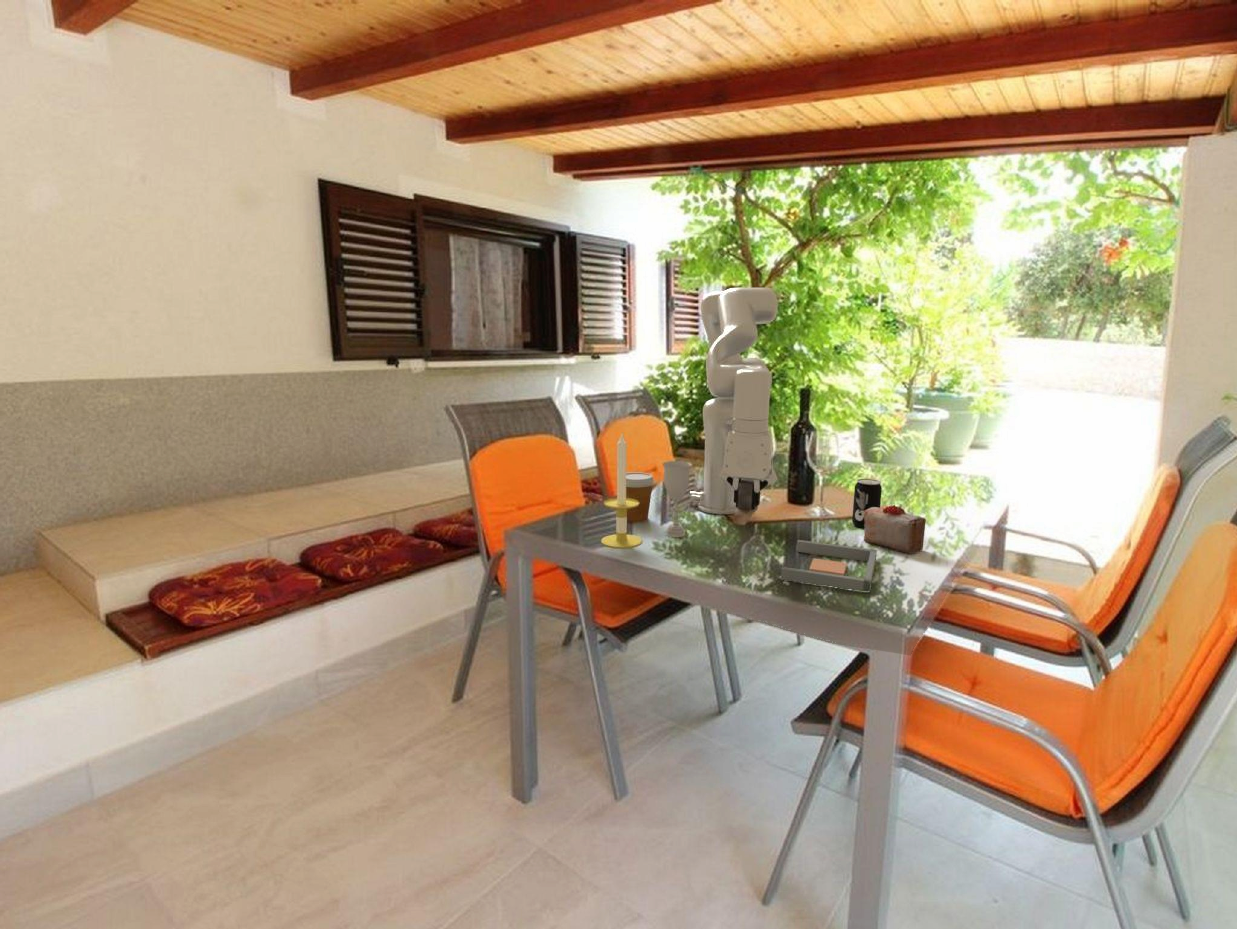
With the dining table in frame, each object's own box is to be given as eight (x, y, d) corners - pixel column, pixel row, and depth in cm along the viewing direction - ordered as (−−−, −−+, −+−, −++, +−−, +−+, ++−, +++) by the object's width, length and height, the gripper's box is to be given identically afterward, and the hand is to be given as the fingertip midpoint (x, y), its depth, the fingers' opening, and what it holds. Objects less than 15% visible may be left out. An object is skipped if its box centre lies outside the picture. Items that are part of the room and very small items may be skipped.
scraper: (732, 523, 145) (733, 487, 143) (746, 507, 157) (747, 474, 155) (745, 525, 144) (747, 489, 142) (758, 508, 156) (760, 475, 154)
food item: (856, 541, 164) (859, 502, 161) (875, 535, 168) (878, 497, 166) (909, 556, 153) (913, 515, 151) (927, 549, 158) (932, 509, 156)
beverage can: (880, 530, 172) (884, 484, 170) (853, 528, 173) (857, 483, 171) (876, 522, 178) (879, 478, 176) (850, 521, 180) (853, 477, 177)
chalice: (692, 531, 171) (694, 462, 167) (686, 539, 164) (688, 467, 161) (665, 528, 173) (666, 460, 169) (657, 536, 167) (658, 465, 163)
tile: (808, 575, 143) (809, 568, 143) (813, 564, 149) (813, 558, 149) (843, 580, 140) (843, 573, 140) (846, 569, 146) (846, 562, 146)
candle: (594, 538, 165) (594, 430, 160) (631, 533, 169) (632, 427, 164) (610, 550, 156) (610, 436, 151) (649, 545, 160) (650, 433, 155)
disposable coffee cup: (612, 516, 183) (612, 474, 181) (642, 512, 188) (643, 470, 185) (628, 526, 175) (629, 481, 173) (660, 521, 179) (661, 477, 177)
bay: (780, 580, 139) (781, 568, 138) (797, 550, 157) (798, 539, 157) (869, 593, 132) (870, 581, 131) (875, 560, 150) (876, 549, 150)
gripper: (709, 426, 146) (706, 507, 150) (785, 431, 139) (779, 516, 144) (718, 420, 152) (715, 498, 157) (791, 425, 146) (786, 506, 150)
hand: (746, 506), depth 150 cm, fingers closed on scraper, 2 cm apart
